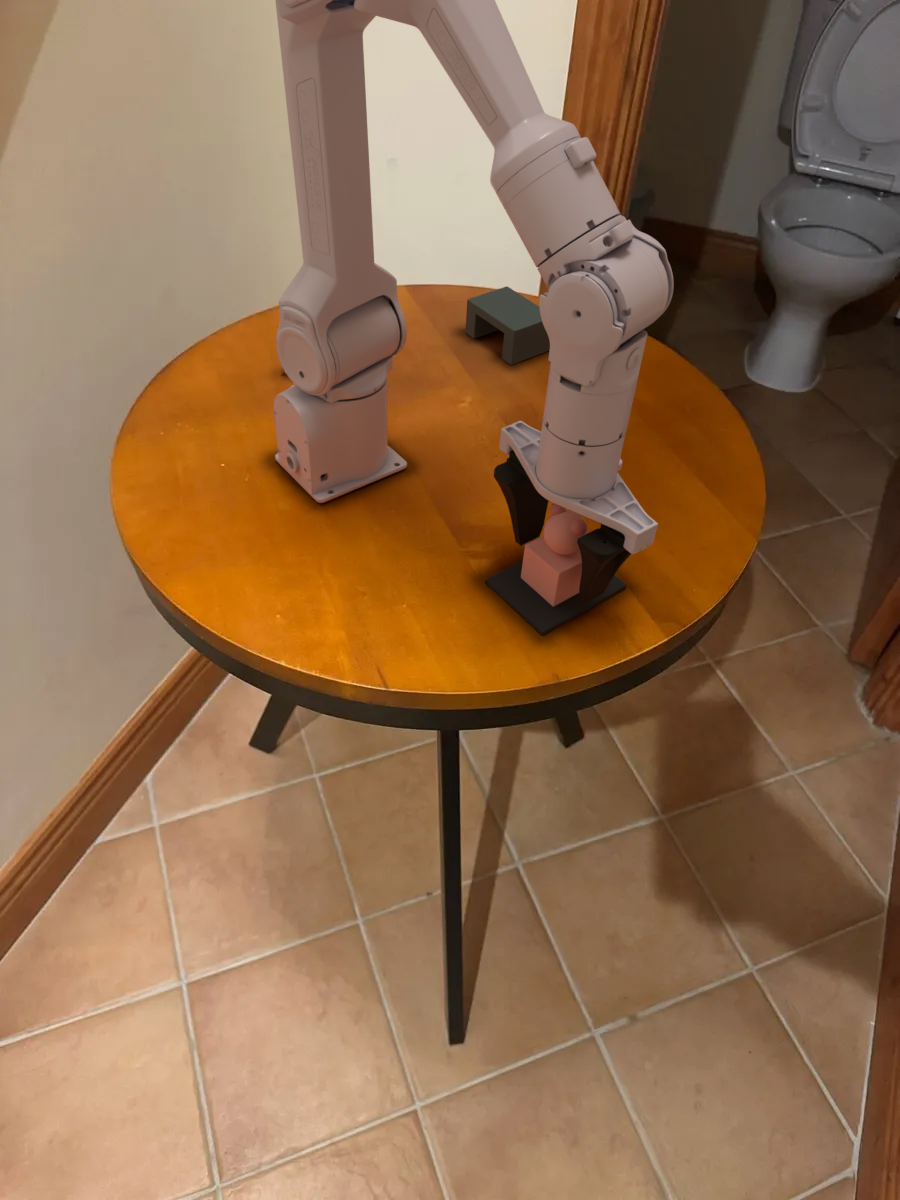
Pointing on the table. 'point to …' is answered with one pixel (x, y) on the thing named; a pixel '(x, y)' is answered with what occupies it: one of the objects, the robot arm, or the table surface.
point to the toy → (556, 557)
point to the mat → (536, 606)
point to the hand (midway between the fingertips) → (558, 566)
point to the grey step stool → (508, 323)
